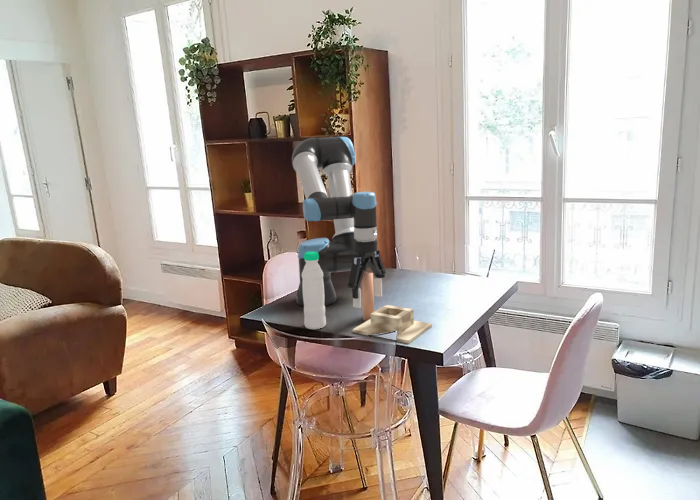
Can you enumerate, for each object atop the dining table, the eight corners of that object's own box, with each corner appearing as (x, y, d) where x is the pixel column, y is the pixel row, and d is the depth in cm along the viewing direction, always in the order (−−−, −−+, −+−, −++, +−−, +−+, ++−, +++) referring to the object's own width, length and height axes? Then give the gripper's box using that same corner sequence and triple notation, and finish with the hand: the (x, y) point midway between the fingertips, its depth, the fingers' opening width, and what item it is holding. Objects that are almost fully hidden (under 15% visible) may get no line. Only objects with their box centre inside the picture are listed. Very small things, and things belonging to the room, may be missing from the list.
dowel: (360, 319, 184) (358, 274, 181) (366, 316, 187) (365, 271, 184) (370, 321, 182) (369, 275, 179) (376, 317, 185) (375, 272, 182)
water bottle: (326, 321, 183) (322, 249, 178) (326, 329, 177) (322, 254, 171) (305, 323, 183) (300, 250, 178) (304, 330, 176) (299, 255, 171)
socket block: (352, 332, 173) (351, 314, 172) (378, 317, 186) (377, 300, 185) (409, 343, 162) (408, 324, 161) (432, 326, 175) (431, 308, 174)
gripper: (354, 247, 167) (357, 314, 171) (394, 233, 187) (395, 293, 191) (334, 246, 171) (337, 310, 175) (375, 232, 191) (377, 290, 195)
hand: (368, 301), depth 183 cm, fingers open, 13 cm apart
